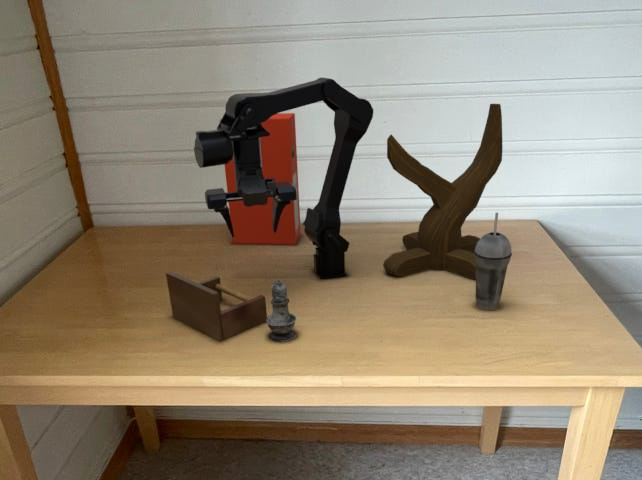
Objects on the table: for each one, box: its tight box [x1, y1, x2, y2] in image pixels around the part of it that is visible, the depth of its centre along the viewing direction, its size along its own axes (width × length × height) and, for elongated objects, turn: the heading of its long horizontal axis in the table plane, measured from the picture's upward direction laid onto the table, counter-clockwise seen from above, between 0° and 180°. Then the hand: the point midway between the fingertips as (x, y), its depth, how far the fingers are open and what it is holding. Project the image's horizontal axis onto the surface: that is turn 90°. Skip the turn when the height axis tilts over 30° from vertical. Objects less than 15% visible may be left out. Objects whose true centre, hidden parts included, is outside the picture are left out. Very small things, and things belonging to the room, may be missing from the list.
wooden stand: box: [382, 103, 503, 280], centre depth 145 cm, size 29×29×35 cm
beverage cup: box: [474, 211, 513, 311], centre depth 127 cm, size 7×7×20 cm
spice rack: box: [165, 270, 268, 343], centre depth 130 cm, size 12×16×10 cm
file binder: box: [219, 112, 302, 246], centre depth 166 cm, size 8×17×32 cm, turn 80°
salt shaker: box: [265, 278, 297, 343], centre depth 122 cm, size 6×6×12 cm
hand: (253, 234), depth 138 cm, fingers open, 9 cm apart
